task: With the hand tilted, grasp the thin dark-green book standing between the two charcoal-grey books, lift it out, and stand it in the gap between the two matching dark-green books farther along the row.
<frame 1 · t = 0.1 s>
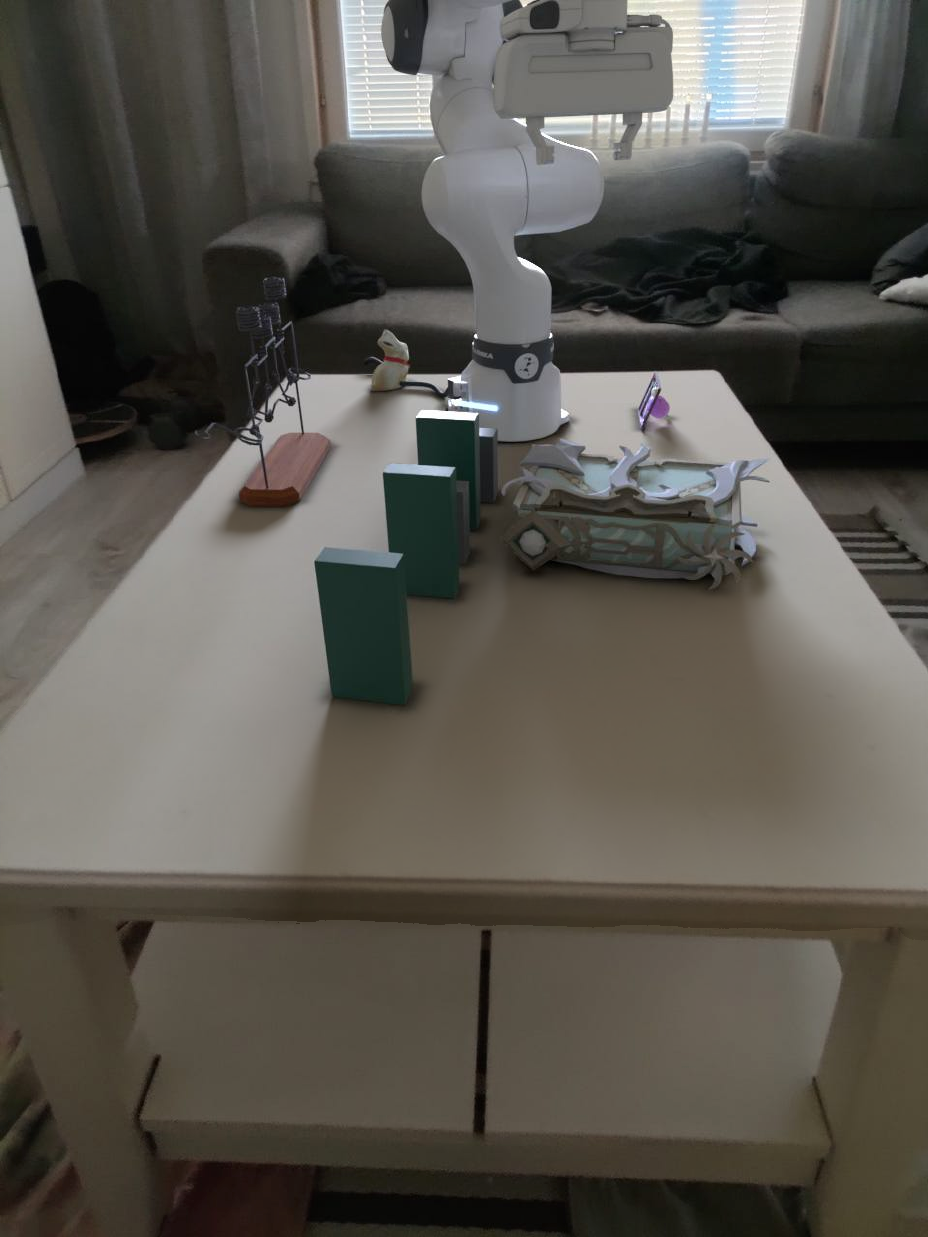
hand: (584, 162, 100), 39 cm above the table, tool pointing down, fingers open, 8 cm apart
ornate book: (633, 542, 105), on the table
green books: (401, 636, 89), on the table
green book: (451, 523, 110), on the table
chocolate bunny: (391, 386, 159), on the table
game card: (654, 421, 140), on the table
grey books: (451, 523, 110), on the table
sculpture: (282, 480, 124), on the table
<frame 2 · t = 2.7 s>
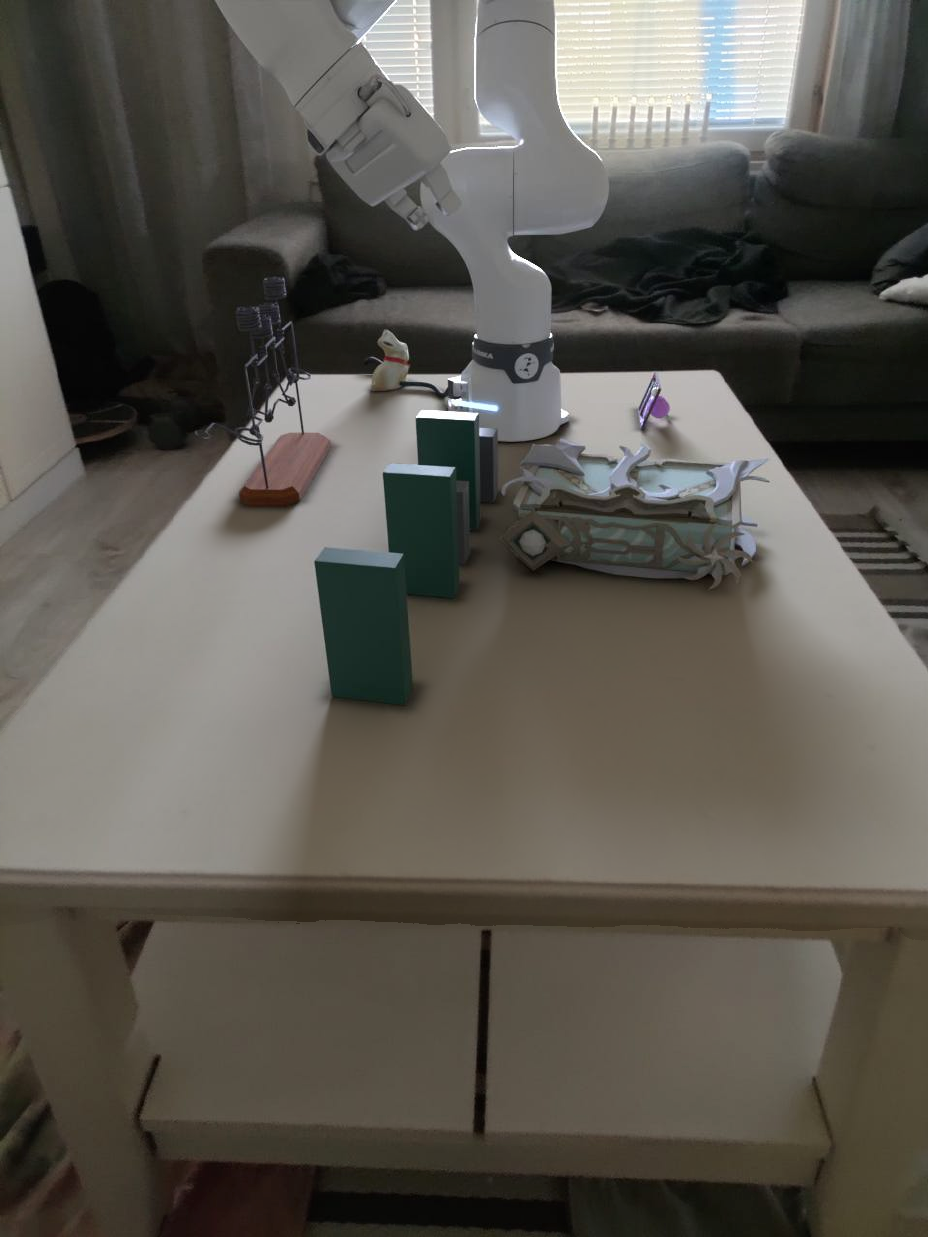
hand: (438, 218, 94), 35 cm above the table, tool tilted 40°, fingers open, 8 cm apart
nothing on the table moved.
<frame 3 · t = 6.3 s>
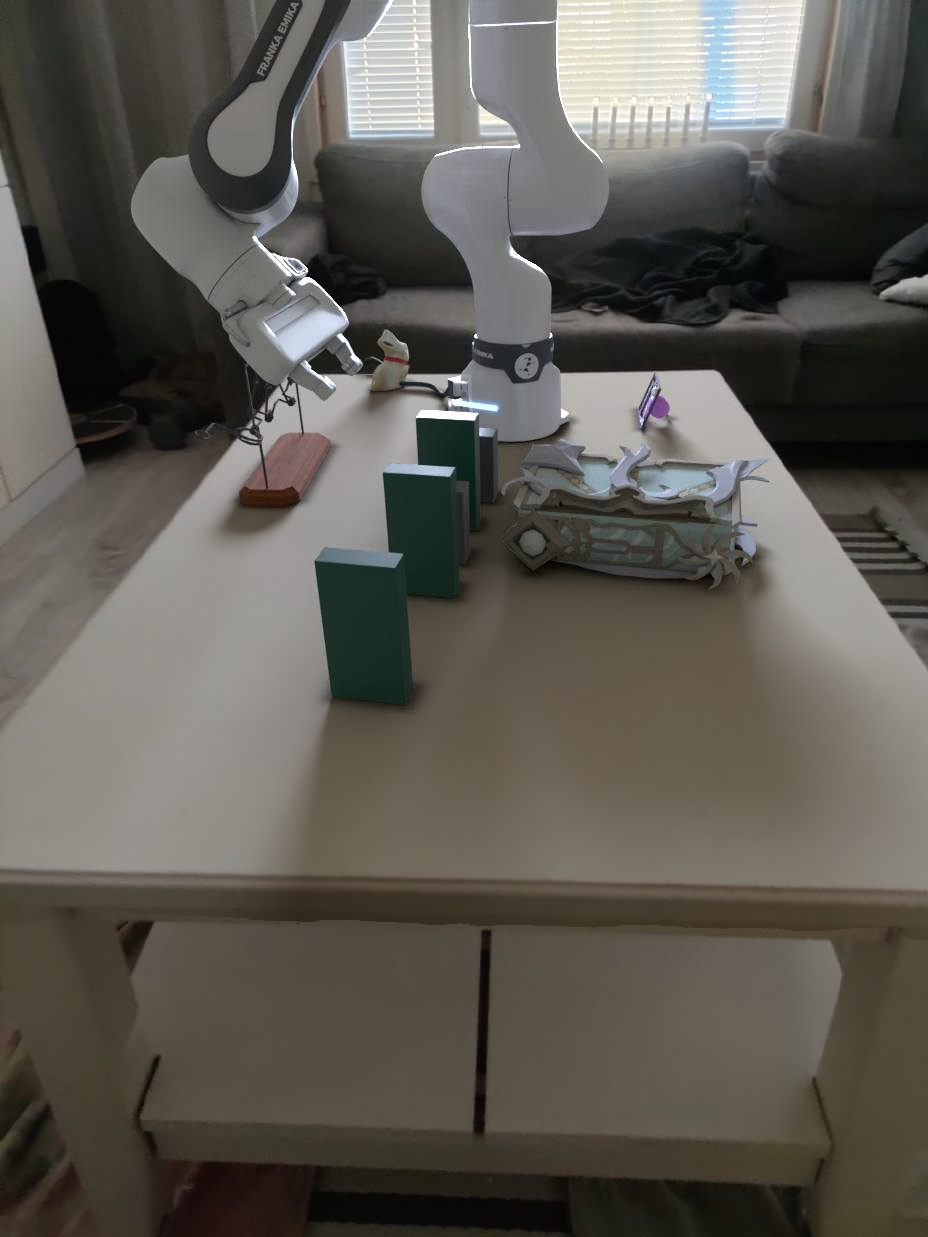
hand: (345, 382, 104), 17 cm above the table, tool tilted 45°, fingers open, 8 cm apart
nothing on the table moved.
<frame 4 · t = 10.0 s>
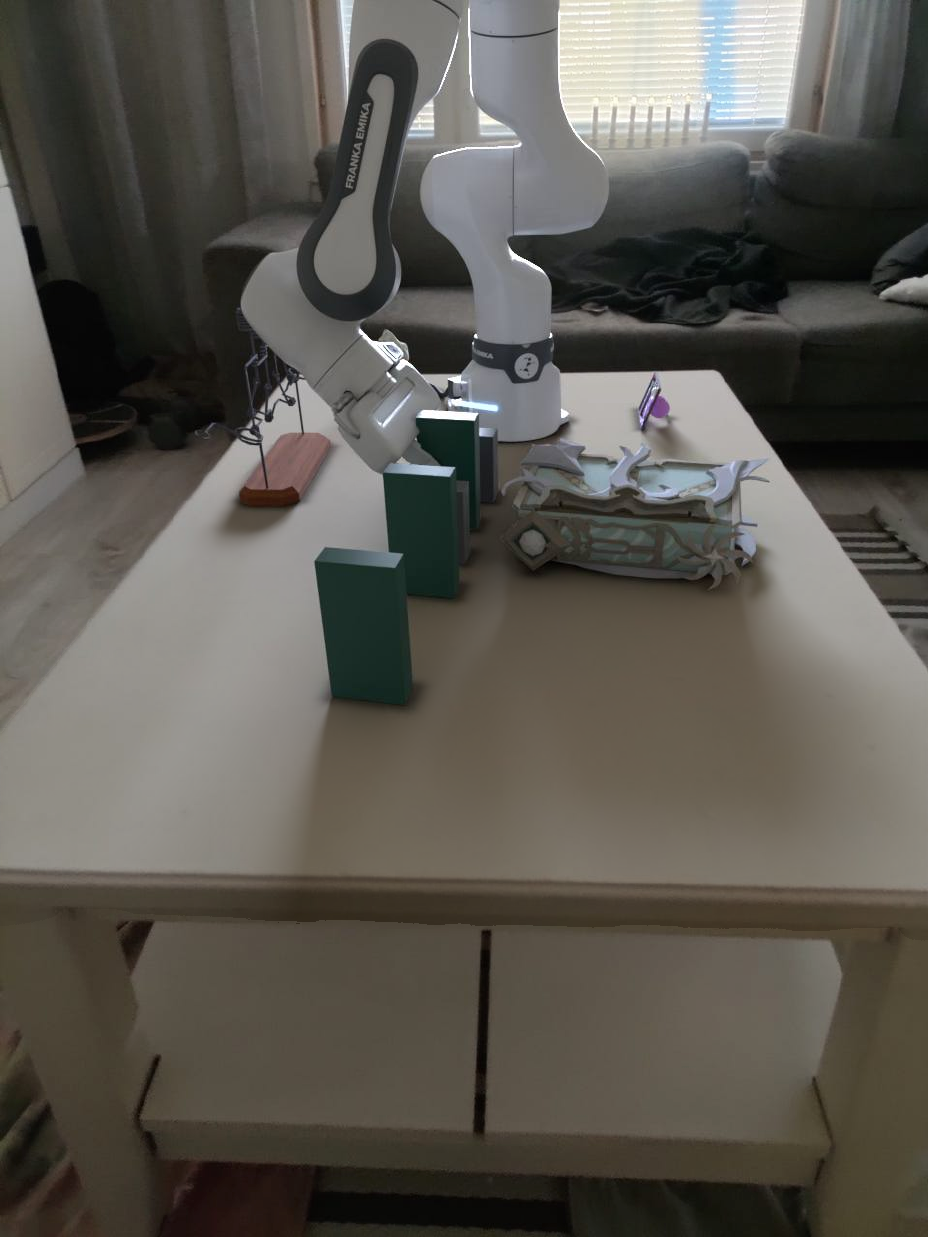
hand: (442, 464, 106), 8 cm above the table, tool tilted 45°, fingers closed on green book, 2 cm apart
green book: (451, 524, 110), on the table, touching gripper
everything else where it was.
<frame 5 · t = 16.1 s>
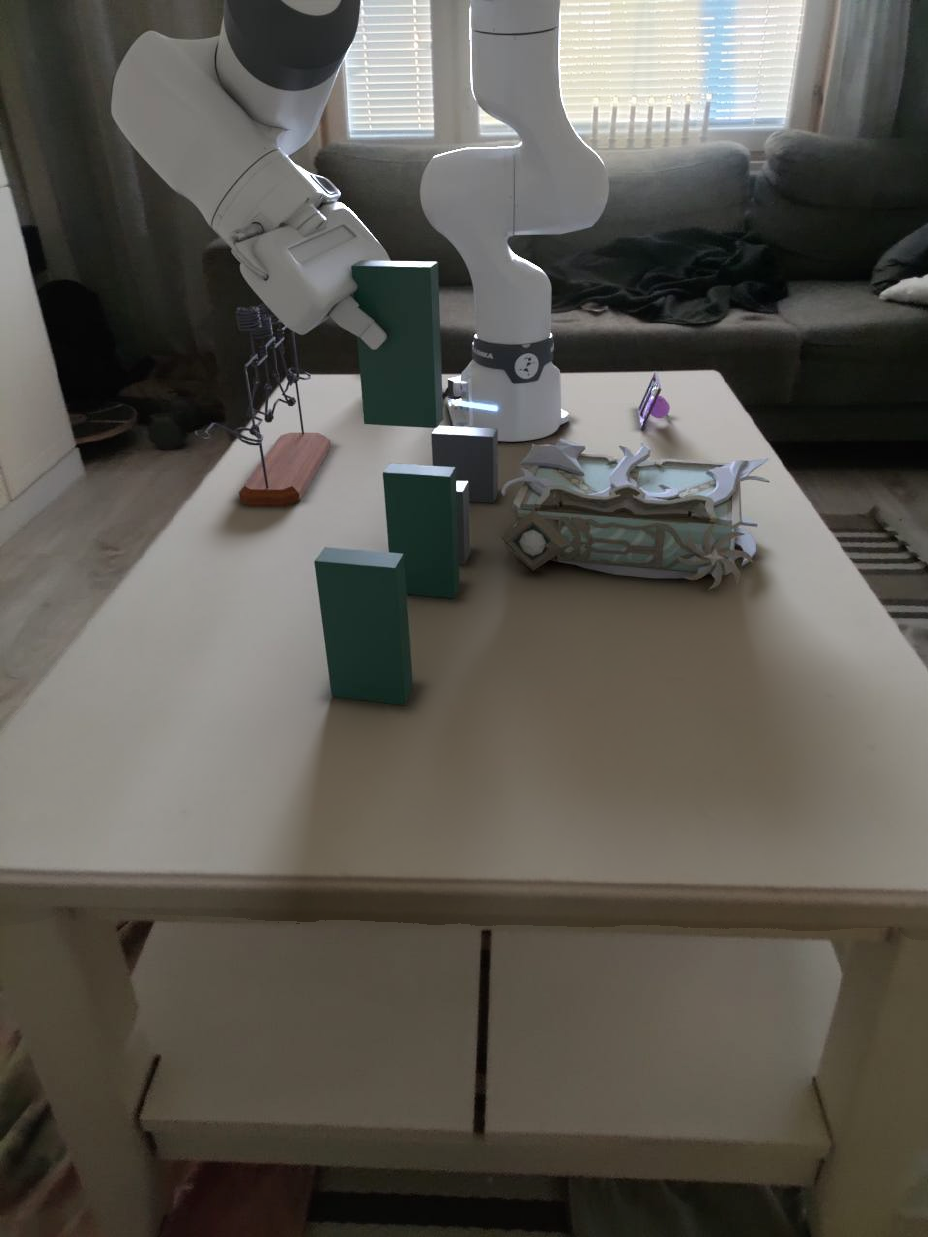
hand: (389, 337, 79), 28 cm above the table, tool tilted 45°, fingers closed on green book, 2 cm apart
green book: (403, 421, 83), point 20 cm above the table, touching gripper
everything else where it was.
when the fingers open (8 cm above the table, at t = 22.4 s): green book stays where it is, on the table.
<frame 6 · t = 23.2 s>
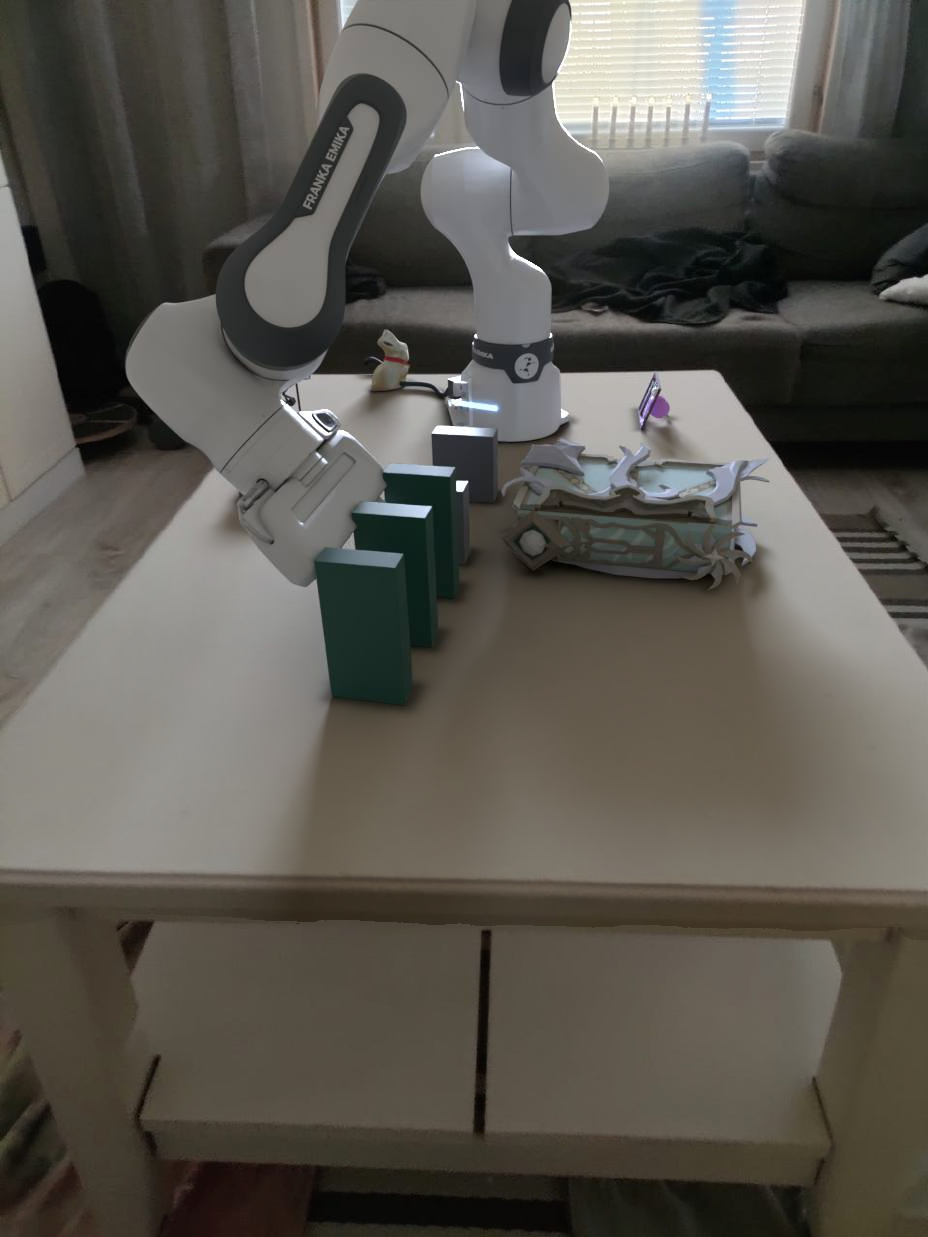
hand: (387, 564, 85), 8 cm above the table, tool tilted 45°, fingers open, 8 cm apart
green book: (401, 637, 89), on the table
everything else where it was.
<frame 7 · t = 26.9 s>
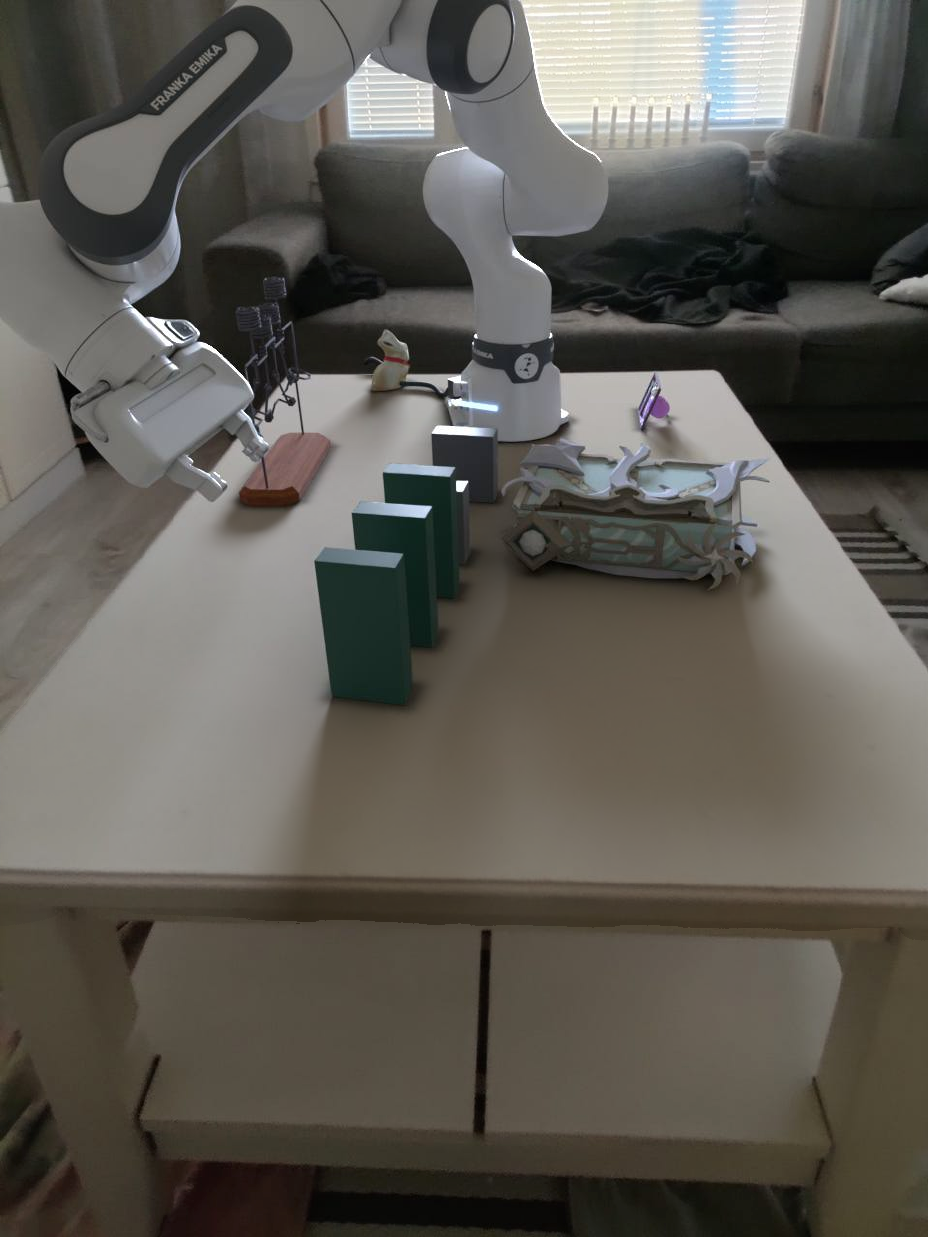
hand: (243, 474, 84), 16 cm above the table, tool tilted 45°, fingers open, 8 cm apart
nothing on the table moved.
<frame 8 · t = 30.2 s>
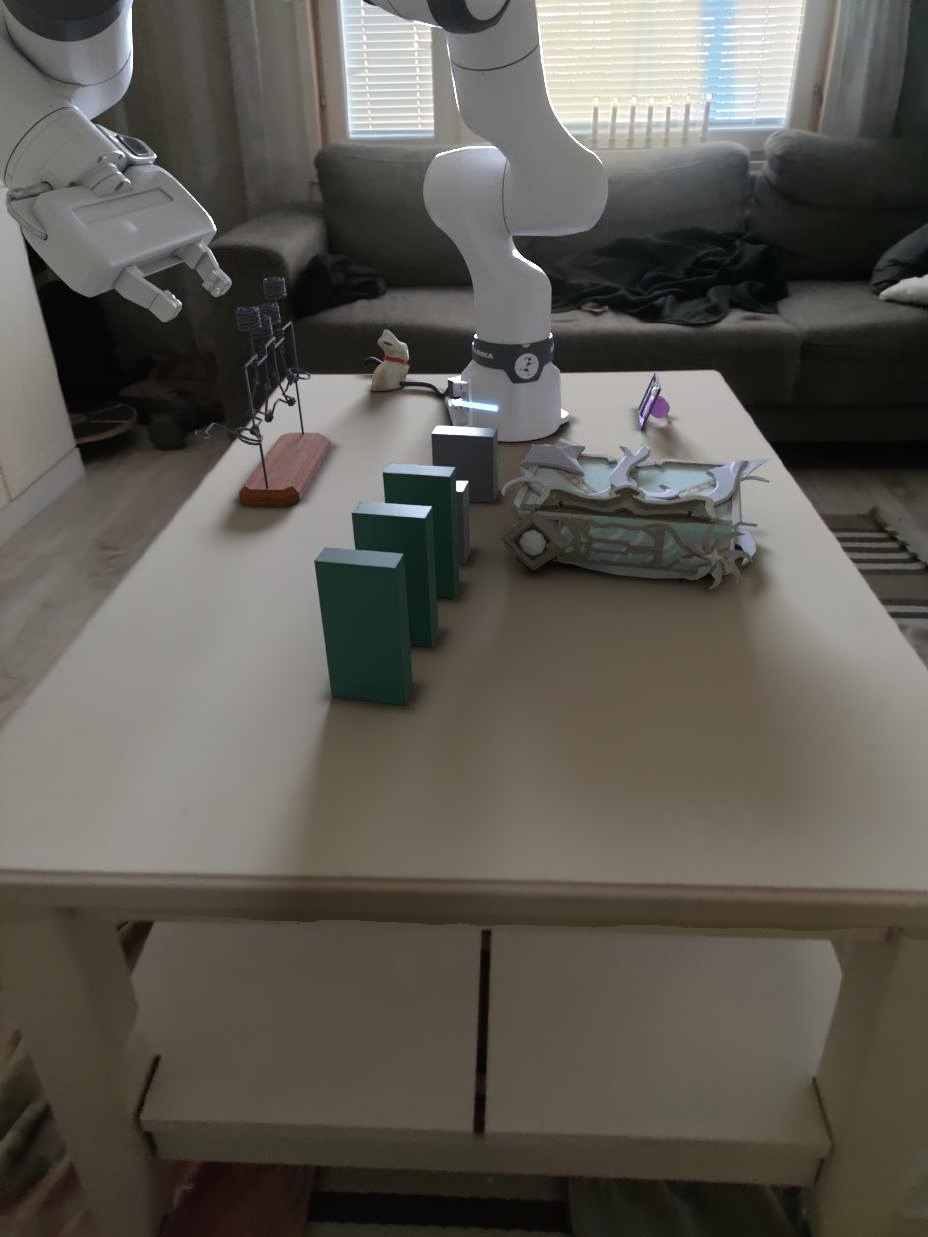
hand: (201, 302, 78), 31 cm above the table, tool tilted 45°, fingers open, 8 cm apart
nothing on the table moved.
at the end: green book 0.0 cm off-centre on the green books, point 0.0 cm above the green books's base; green book tilted 0°; the gripper is holding nothing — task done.
